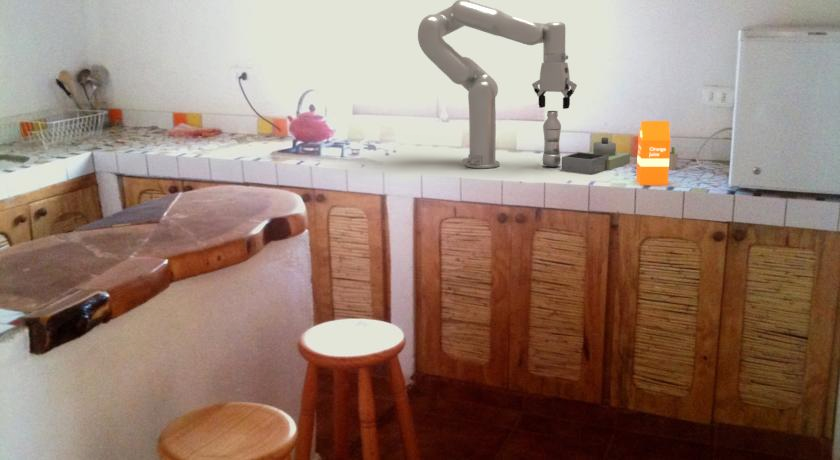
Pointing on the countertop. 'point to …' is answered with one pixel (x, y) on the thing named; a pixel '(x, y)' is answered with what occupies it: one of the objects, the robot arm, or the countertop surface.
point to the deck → (616, 160)
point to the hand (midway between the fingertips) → (553, 107)
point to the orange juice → (653, 153)
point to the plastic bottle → (551, 140)
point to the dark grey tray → (584, 163)
